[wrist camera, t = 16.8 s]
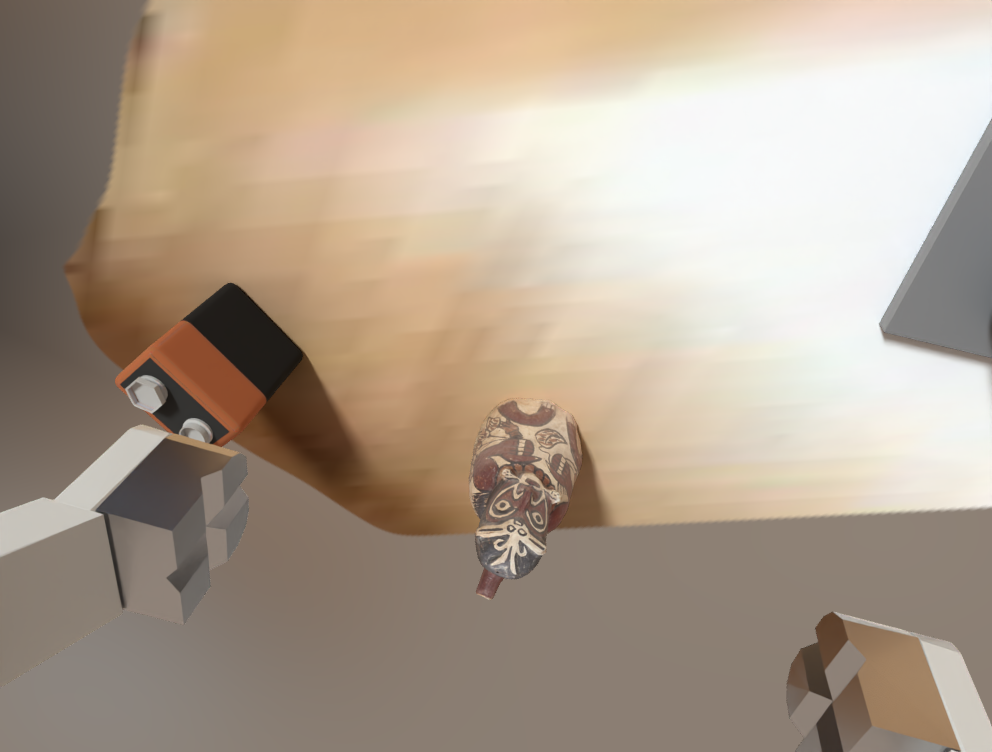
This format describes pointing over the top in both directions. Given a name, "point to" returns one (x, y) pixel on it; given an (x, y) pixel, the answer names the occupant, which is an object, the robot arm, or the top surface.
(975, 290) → the board
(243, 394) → the battery
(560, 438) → the figurine
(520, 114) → the top surface
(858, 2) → the top surface
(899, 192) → the top surface
